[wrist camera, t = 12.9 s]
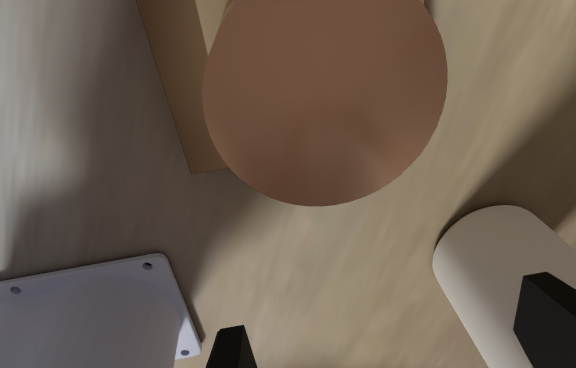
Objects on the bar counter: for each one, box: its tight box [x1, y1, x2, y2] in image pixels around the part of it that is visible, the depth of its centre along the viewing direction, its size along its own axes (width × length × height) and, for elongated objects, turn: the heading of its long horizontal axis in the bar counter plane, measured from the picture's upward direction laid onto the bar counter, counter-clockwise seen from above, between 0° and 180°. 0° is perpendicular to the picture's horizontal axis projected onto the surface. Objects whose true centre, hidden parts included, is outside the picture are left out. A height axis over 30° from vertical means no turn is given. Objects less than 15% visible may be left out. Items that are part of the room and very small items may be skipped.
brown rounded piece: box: [202, 0, 447, 206], centre depth 9 cm, size 4×4×4 cm
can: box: [433, 205, 576, 368], centre depth 18 cm, size 6×6×12 cm
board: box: [136, 0, 424, 174], centre depth 15 cm, size 10×10×2 cm
